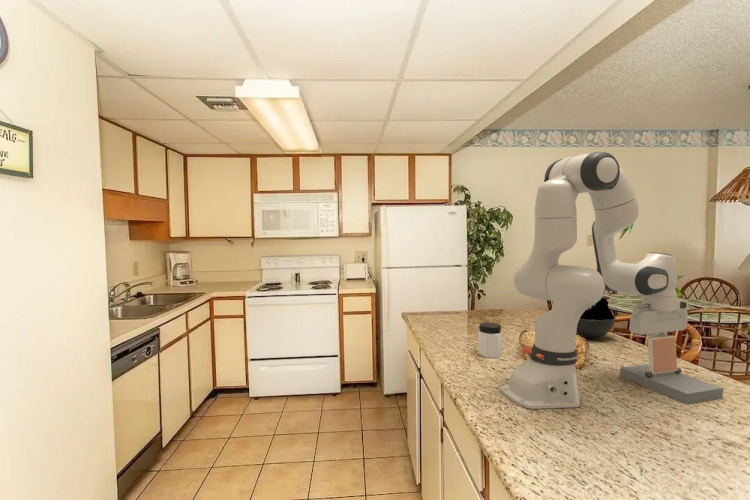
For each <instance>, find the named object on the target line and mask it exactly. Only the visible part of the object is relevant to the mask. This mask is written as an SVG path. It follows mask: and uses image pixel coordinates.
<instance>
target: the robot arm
mask: <svg viewBox="0 0 750 500" xmlns="http://www.w3.org/2000/svg"><path fill="white" fill-rule="evenodd" d="M584 193H587V194H588V195H589V196H590V200H591V204H592V207H593V210H594V217H595V218H594V221H593V222H592V225H591V236H592V243H593V250H594V255H595V261H596V270H594V269H592V268H589V267H584V266H581V265H569V264H568V265H567V264H559V260H560V256H561V255H562V254H563V253H566V252H567V251H569V250H571V249H572V248H574V247H575V245H576V243H577V242H578V241H577V240H578V234H577V233H578V232H577V231H578V228H577V227H578V224H577V222H578V221H577V204H576V201H577V198H578V196H579V194H584ZM639 215H640V207H639V204H638V200H637V196H636V194H635V191H634V189H633V186H632V184H631V182H630V179H629V178H628V175H627V174H626V172H625V171H624V170H623V169H622V168H621V167H620V164H619V161H618V160H617V158H616V157H615V156H614V155H613V154H611V153H609V152H605V151H594V152H590V153H583V154H575V155H571V156H568V157H565V158H559V159H558V160H556V161H554V162H552V163H551V164H550V165H549V166H548V167H547V169H546V171H545V174H544V180H543V182H542V183H541V184H540V185H539V186H538V188H537V192H536V198H535V206H534V241H533V247H532V249H531V253H530V255H529V257H528V258H527V260H526V261H524V262H523V263H522V264H521V265H519V267H517V269H516V271H515V273H514V276H513V282H514V287H515V289H516V290H517V292H518V293H520V294H522V295H524V296H527V297H530V298H532V299H539V300H545V301H550V302H551V301H552V307H551V310H550V311H547V312H544V313H541V314H540V315H539V316H538V317H537V318H536V320H535V323H534V343H533V345H532V347H531V348H530V347H528V346H526V345H525V346H523V348H522V352H523V353H524V354H526V355H529V357H528V358H527V359H526V360H524V361H523V362H522V363H521V364H520V365H518V366H517V367H515V368H514V369H513V370H512V371H511V373H510V376H509V379H508V381H509V382H508V384H504V385H502V386H501V387H500V391H501V393H502V394H503V395H504V396H505V397H506V398H507V399H509V400H510V401H512V402H513V403H514V404H517V405H518V406H520V407H524V408H527V409H530V410H537V409H538V410H540V409H541V410H542V409H562V408H567V409H568V408H579V407H581V403H580V401H581V398H582V397H581V394H580V390H579V386H578V378H577V368H576V363H578V350H577V348H576V346H577V345H576V344H577V343H576V342H577V341H576V340H577V333H576V331H577V325H578V321H579V319H580V317H581V315H582V314H583V313H584V311H585V310H586V309H587V310H588V309H590V308H591V307H593V305H594V306H595V303H597V302H598V301H599V300H600V299H601V298H603V297H604V294H605V291H607V292H614V293H615V292H617V293H618V292H619V293H624V294H630V295H637V296H641V304H637V305H635V306H634V307H633V308H632V312H631V315H630V319H629V325H628V326H629V327H628V328H629V331H630V333H632V334H636V335H639V336H643V335H648V338H651V337H661V336H668V332H677V331H684V330H686V329H687V327H688V321H689V320H688V317H689V315H688V313H689V312H688V310H687V309H688V308H689V306H690V305H689V302H688V301H686V300H682V299H680V298H678V293H677V290H676V286H677V283H678V264H677V260H676V257H675V256H673V255H672V254H668V253H664V252H648V253H647V252H646V253H645V256H644V258H643V259H642V260H639V261H638V262H636V263H631V262H629V263H628V262H622V261H621V260H619V259H618V258H617V255H616V254H617V253H616V246H615V240H614V238H615V235H616V234H617V233H619V232H622V231H625V229H628V228H629V227H631V226H632V225H633V224H634V223H635V222H636V221H637V219H638V217H639Z"/></svg>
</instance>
